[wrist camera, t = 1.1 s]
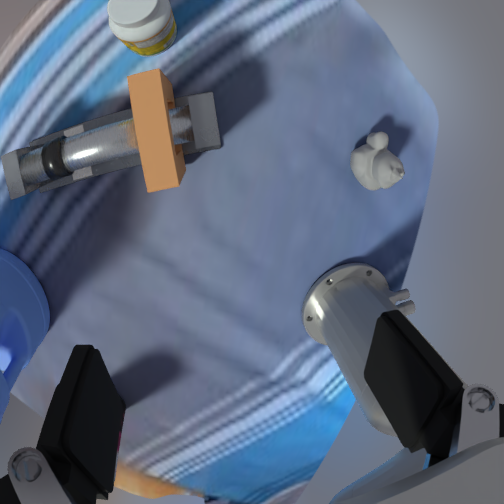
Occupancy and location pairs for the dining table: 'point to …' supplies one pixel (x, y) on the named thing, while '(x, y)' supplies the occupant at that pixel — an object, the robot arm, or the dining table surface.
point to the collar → (156, 130)
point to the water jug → (19, 320)
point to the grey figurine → (376, 163)
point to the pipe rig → (105, 146)
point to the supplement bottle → (143, 25)
